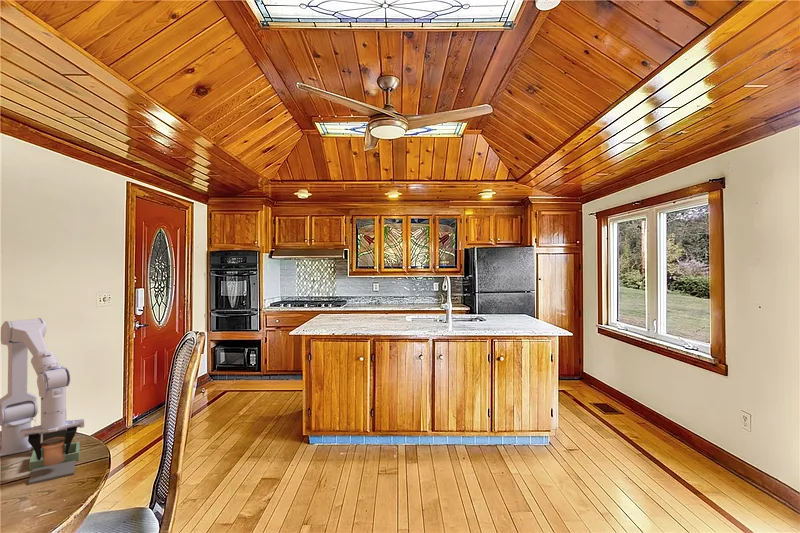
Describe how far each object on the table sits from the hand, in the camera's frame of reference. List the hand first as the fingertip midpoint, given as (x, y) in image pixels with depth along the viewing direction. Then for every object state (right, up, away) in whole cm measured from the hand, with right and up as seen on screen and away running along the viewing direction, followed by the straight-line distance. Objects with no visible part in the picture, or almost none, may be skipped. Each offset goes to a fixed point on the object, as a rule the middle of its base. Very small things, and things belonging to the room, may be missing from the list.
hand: (53, 456), depth 123 cm
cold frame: (-6, -5, +8) cm, 11 cm away
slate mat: (0, -5, 0) cm, 5 cm away
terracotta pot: (0, -2, 0) cm, 2 cm away
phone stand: (-13, -5, +16) cm, 21 cm away
